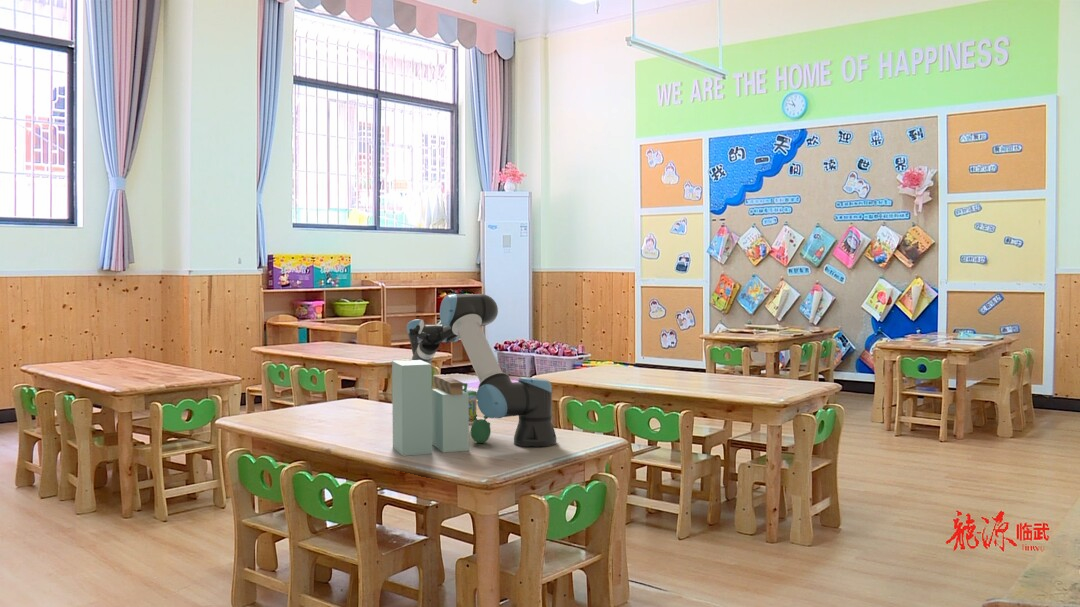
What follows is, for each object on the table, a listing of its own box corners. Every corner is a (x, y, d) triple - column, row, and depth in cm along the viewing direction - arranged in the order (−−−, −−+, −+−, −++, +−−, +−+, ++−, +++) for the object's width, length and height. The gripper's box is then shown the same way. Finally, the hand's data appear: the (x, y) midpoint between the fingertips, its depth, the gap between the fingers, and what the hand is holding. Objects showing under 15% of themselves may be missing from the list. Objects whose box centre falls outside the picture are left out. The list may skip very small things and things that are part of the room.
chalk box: (445, 419, 363) (445, 383, 363) (461, 416, 370) (461, 381, 370) (461, 422, 357) (461, 385, 357) (477, 418, 365) (477, 383, 364)
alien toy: (494, 441, 317) (494, 413, 317) (485, 445, 310) (484, 417, 310) (477, 440, 320) (477, 412, 320) (467, 444, 313) (467, 415, 312)
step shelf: (469, 450, 302) (468, 362, 300) (402, 455, 293) (401, 365, 292) (456, 442, 316) (456, 358, 315) (392, 447, 308) (391, 360, 306)
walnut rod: (462, 394, 299) (462, 382, 299) (451, 395, 298) (451, 383, 297) (443, 385, 321) (443, 374, 321) (432, 386, 320) (432, 374, 320)
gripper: (460, 353, 353) (473, 330, 336) (398, 356, 344) (408, 332, 326) (457, 336, 356) (470, 312, 339) (395, 338, 347) (406, 314, 330)
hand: (440, 322), depth 333 cm, fingers open, 13 cm apart
